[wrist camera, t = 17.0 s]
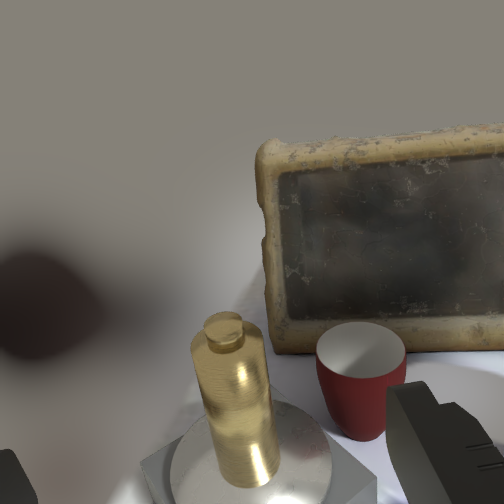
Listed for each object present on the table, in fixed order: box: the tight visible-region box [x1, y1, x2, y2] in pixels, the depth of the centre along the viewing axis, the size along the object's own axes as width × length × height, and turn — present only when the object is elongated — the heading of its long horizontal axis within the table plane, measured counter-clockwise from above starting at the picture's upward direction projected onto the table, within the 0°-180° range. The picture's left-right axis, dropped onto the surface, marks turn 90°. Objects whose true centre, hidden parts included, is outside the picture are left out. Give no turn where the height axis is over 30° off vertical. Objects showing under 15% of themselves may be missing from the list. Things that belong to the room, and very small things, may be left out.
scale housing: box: [140, 385, 377, 504], centre depth 39 cm, size 14×15×5 cm
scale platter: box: [170, 399, 332, 504], centre depth 38 cm, size 13×13×1 cm
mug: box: [315, 322, 406, 442], centre depth 45 cm, size 10×8×10 cm
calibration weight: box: [191, 312, 281, 488], centre depth 34 cm, size 5×5×14 cm
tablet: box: [255, 122, 504, 354], centre depth 54 cm, size 33×14×25 cm, turn 88°
